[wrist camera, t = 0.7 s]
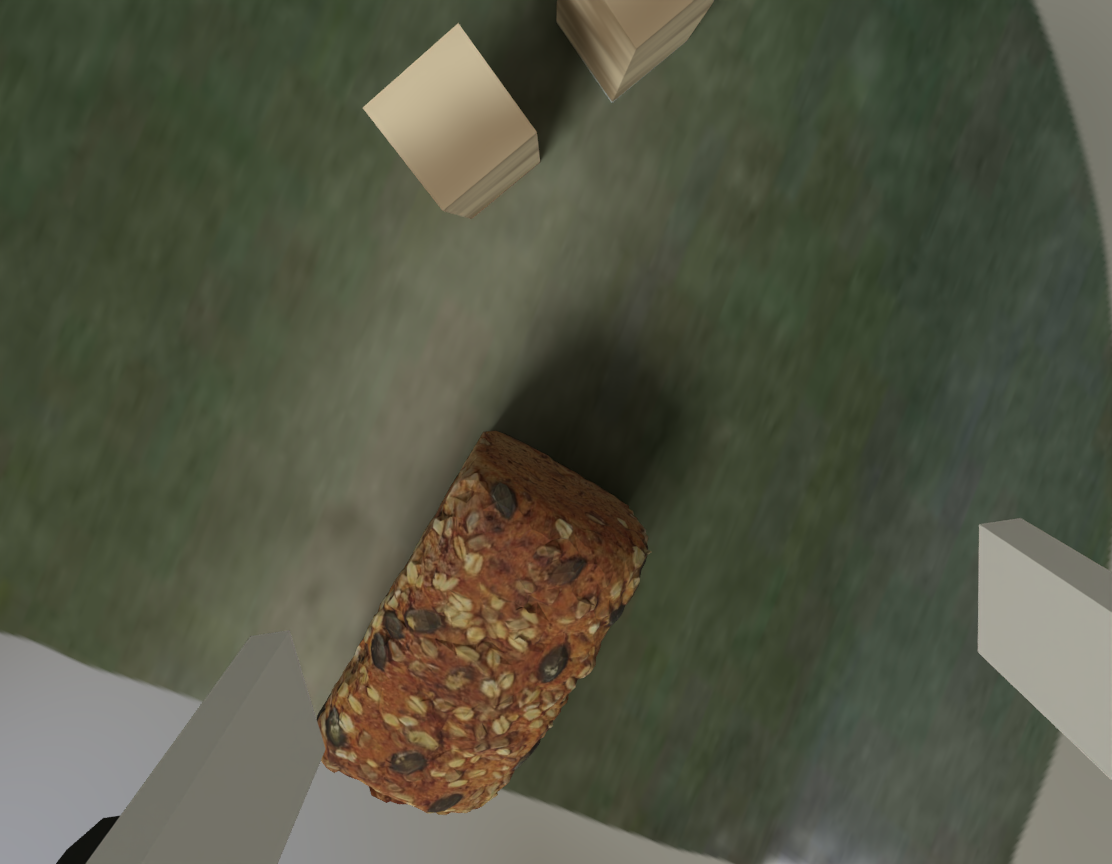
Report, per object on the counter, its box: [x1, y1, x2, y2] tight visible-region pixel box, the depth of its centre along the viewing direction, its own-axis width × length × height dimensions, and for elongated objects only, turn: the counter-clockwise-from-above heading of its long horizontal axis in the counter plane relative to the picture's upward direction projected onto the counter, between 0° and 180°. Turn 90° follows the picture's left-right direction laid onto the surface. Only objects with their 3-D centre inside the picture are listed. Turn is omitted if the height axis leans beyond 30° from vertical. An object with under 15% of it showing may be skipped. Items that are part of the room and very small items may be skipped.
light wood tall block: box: [363, 24, 540, 219], centre depth 30 cm, size 4×4×10 cm
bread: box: [317, 431, 651, 815], centre depth 37 cm, size 19×11×10 cm, turn 149°
